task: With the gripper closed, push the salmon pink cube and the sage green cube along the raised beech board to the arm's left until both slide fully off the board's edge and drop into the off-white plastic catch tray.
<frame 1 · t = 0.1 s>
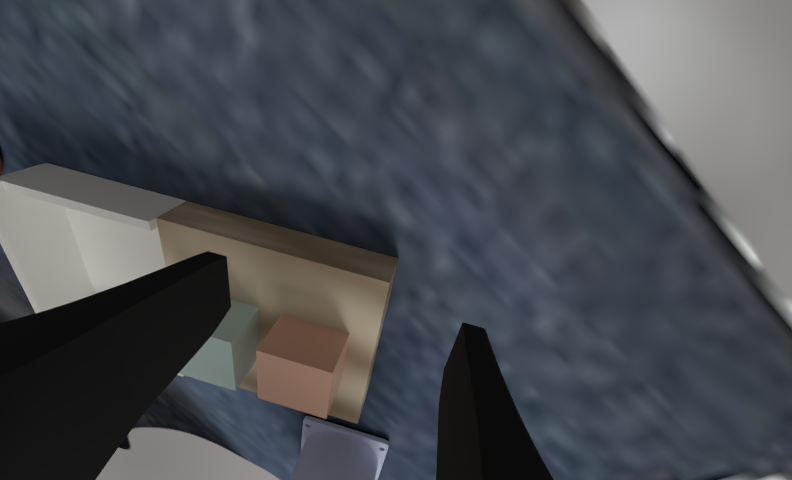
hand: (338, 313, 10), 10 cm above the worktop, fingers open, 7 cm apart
beech board: (287, 310, 25), on the worktop
sage green cube: (228, 322, 23), point 2 cm above the worktop, touching beech board
salmon pink cube: (313, 347, 23), point 2 cm above the worktop, touching beech board
catch tray: (137, 266, 26), on the worktop
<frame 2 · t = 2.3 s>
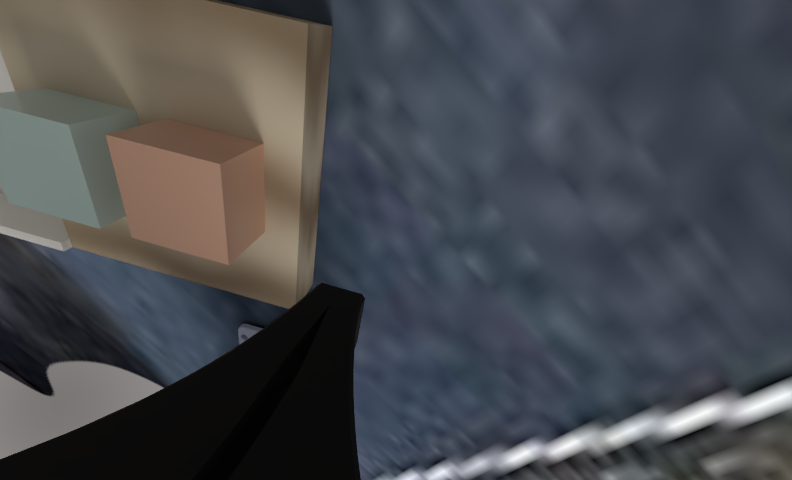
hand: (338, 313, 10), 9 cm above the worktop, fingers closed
beech board: (196, 149, 18), on the worktop
sage green cube: (103, 148, 17), point 2 cm above the worktop, touching beech board
salmon pink cube: (219, 178, 16), point 2 cm above the worktop, touching beech board
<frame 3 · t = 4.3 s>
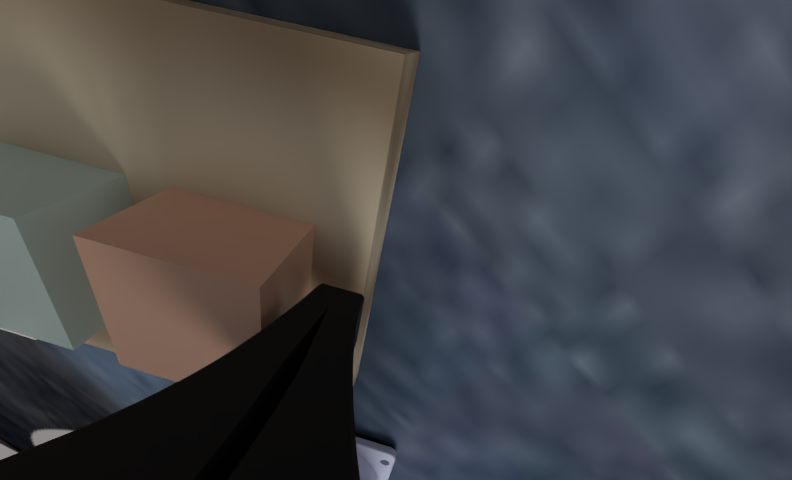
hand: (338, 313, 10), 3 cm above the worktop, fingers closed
beech board: (210, 211, 14), on the worktop
sage green cube: (81, 220, 12), point 2 cm above the worktop, touching beech board
salmon pink cube: (245, 266, 11), point 2 cm above the worktop, touching beech board, gripper
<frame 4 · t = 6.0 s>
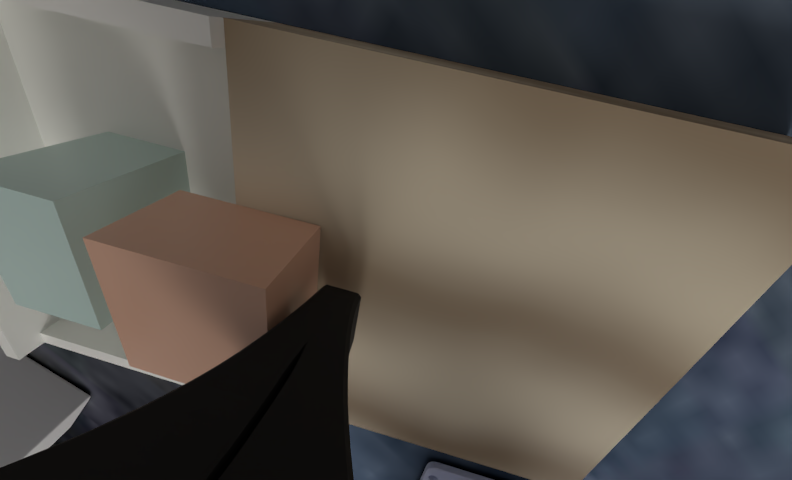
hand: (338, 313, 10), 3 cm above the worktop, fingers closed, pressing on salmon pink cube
milk carton: (38, 380, 24), on the worktop
beech board: (451, 276, 13), on the worktop
sage green cube: (145, 235, 12), point 3 cm above the worktop, tilted 90°, touching catch tray
salmon pink cube: (253, 268, 11), point 3 cm above the worktop, touching beech board, gripper
catch tray: (160, 198, 14), on the worktop
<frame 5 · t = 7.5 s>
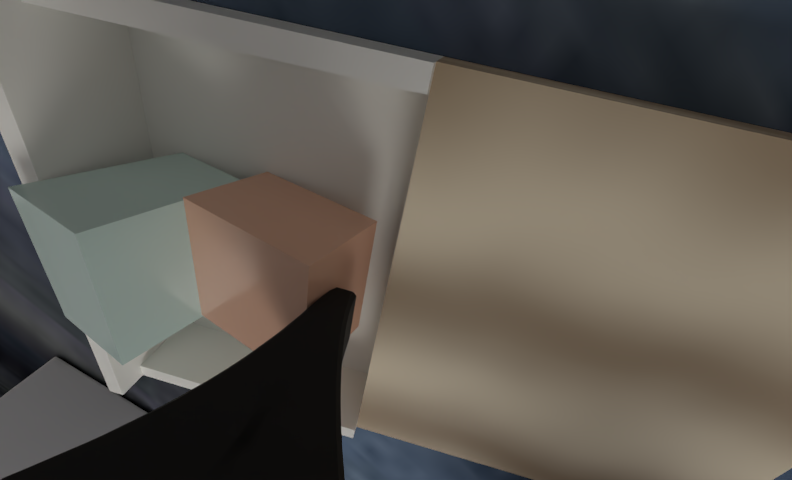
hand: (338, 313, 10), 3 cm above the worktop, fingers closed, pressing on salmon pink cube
milk carton: (99, 401, 24), on the worktop
beech board: (582, 310, 13), on the worktop
sage green cube: (186, 268, 11), point 3 cm above the worktop, tilted 108°, touching catch tray, salmon pink cube
salmon pink cube: (314, 251, 12), point 1 cm above the worktop, tilted 18°, touching catch tray, gripper, sage green cube
catch tray: (272, 229, 13), on the worktop
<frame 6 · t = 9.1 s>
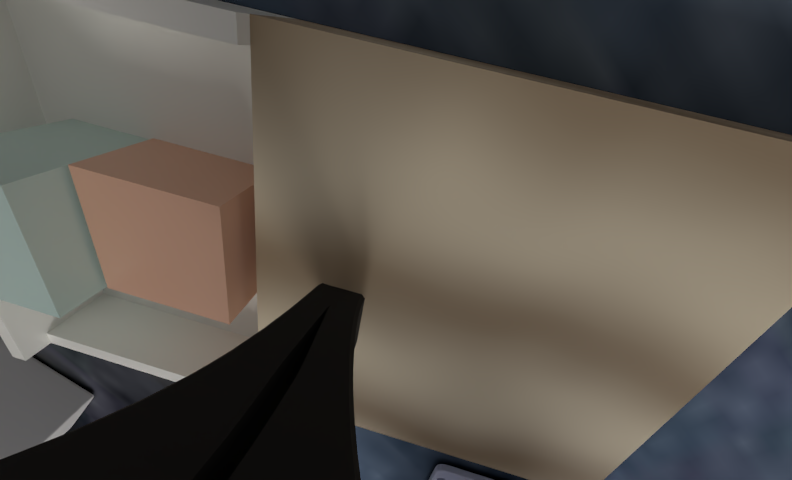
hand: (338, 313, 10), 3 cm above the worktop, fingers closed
milk carton: (40, 379, 24), on the worktop
beech board: (468, 280, 13), on the worktop
sage green cube: (107, 223, 11), point 3 cm above the worktop, tilted 90°, touching catch tray
salmon pink cube: (218, 211, 13), resting on catch tray
catch tray: (171, 198, 14), on the worktop
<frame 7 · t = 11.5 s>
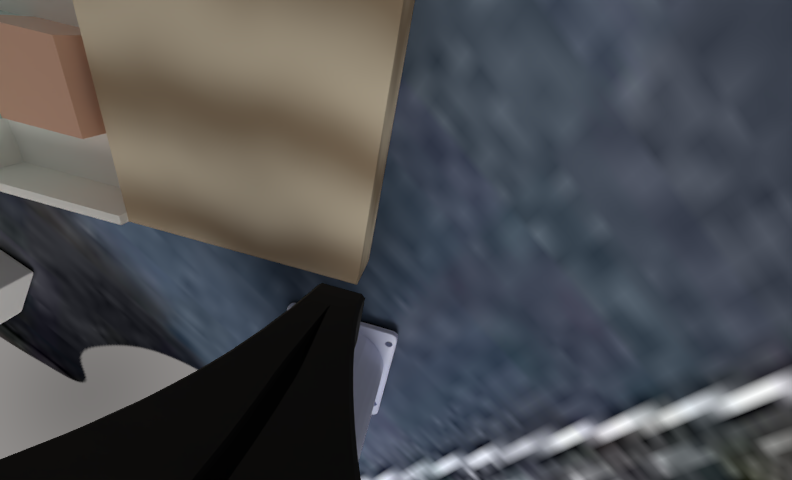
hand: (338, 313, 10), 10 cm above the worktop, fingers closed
beech board: (260, 119, 18), on the worktop
salmon pink cube: (86, 74, 19), resting on catch tray
catch tray: (57, 69, 19), on the worktop
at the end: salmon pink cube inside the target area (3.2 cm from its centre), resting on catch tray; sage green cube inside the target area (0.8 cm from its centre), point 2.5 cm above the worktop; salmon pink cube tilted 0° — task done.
